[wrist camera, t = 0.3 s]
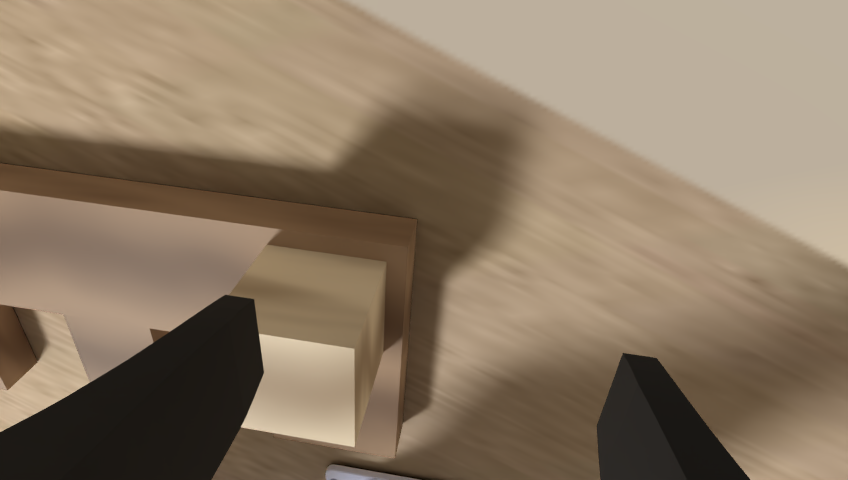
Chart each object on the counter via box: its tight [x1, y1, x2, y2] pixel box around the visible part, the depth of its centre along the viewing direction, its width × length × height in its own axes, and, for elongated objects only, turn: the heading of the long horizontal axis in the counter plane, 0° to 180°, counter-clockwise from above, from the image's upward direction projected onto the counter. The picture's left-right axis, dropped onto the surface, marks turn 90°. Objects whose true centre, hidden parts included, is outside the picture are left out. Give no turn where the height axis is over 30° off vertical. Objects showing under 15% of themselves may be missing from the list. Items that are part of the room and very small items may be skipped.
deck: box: [0, 163, 417, 458], centre depth 23 cm, size 12×24×4 cm, turn 86°
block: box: [229, 245, 387, 447], centre depth 18 cm, size 4×4×4 cm
